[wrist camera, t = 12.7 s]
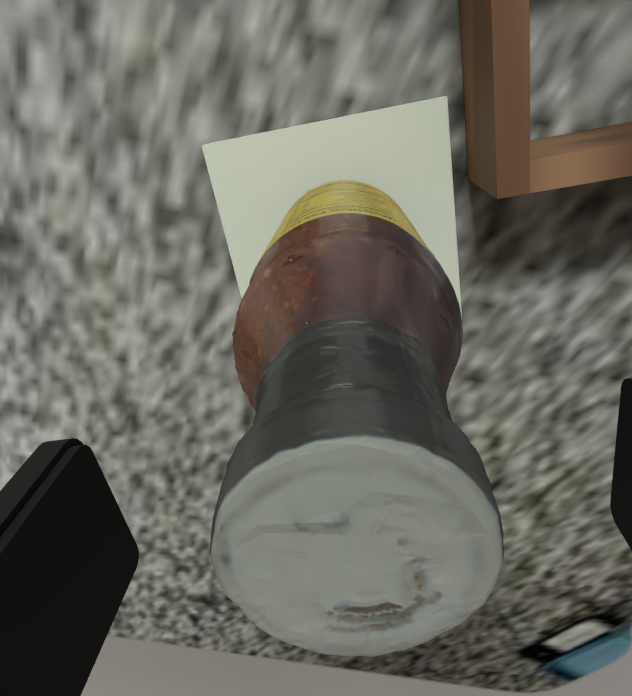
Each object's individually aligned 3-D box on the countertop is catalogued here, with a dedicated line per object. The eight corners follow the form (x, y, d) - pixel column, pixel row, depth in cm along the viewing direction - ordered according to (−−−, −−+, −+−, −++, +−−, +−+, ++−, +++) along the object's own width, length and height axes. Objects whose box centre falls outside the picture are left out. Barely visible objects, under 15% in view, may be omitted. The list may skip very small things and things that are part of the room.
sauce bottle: (380, 317, 27) (456, 765, 9) (264, 279, 26) (91, 677, 8) (432, 193, 24) (700, 481, 6) (304, 148, 23) (170, 314, 5)
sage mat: (444, 96, 22) (447, 96, 22) (460, 324, 27) (462, 328, 27) (204, 144, 24) (201, 145, 23) (258, 353, 28) (257, 358, 28)
